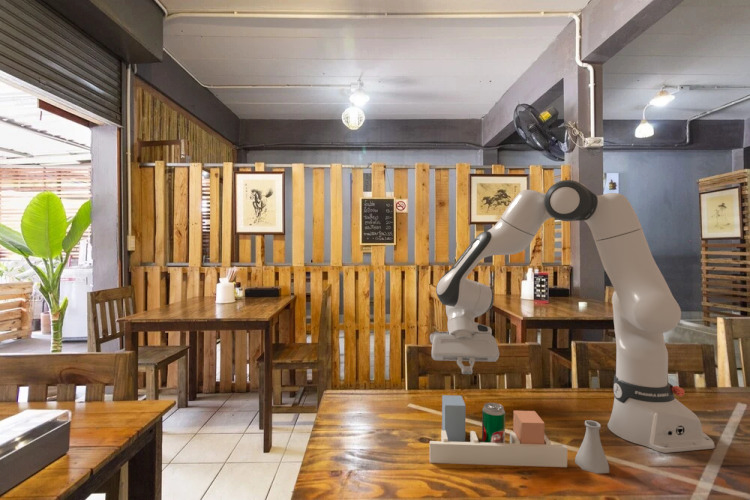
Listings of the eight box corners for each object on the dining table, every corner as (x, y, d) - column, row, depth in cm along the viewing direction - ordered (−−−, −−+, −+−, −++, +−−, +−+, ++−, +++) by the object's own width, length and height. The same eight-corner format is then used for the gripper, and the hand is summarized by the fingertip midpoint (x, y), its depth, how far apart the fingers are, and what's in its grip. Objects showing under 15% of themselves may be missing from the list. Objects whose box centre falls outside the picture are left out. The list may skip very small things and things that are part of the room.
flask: (616, 479, 82) (617, 433, 82) (579, 475, 83) (580, 429, 83) (603, 460, 89) (604, 417, 89) (569, 456, 90) (570, 414, 90)
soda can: (492, 465, 87) (493, 413, 86) (477, 454, 91) (477, 404, 91) (509, 459, 89) (509, 408, 89) (493, 449, 94) (493, 400, 93)
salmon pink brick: (532, 445, 94) (533, 409, 93) (543, 462, 87) (544, 423, 86) (511, 445, 94) (512, 408, 94) (521, 461, 87) (521, 422, 87)
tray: (538, 431, 102) (538, 410, 102) (567, 470, 85) (567, 445, 85) (424, 428, 104) (424, 407, 104) (430, 465, 87) (430, 441, 87)
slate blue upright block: (460, 427, 103) (460, 394, 102) (465, 441, 96) (465, 405, 95) (441, 427, 103) (441, 393, 103) (444, 441, 96) (445, 405, 96)
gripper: (430, 326, 122) (432, 367, 112) (496, 327, 121) (504, 369, 111) (428, 336, 126) (431, 377, 117) (492, 337, 125) (499, 378, 116)
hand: (467, 373), depth 114 cm, fingers closed
